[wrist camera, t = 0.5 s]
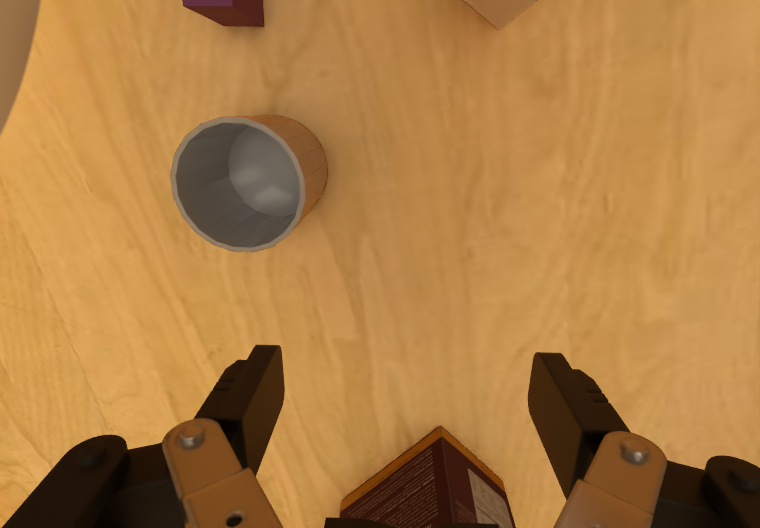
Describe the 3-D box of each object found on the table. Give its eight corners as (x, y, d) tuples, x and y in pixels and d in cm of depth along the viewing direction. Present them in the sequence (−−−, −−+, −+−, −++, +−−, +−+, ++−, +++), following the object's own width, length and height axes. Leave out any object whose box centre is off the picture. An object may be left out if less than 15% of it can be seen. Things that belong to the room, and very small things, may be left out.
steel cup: (222, 114, 37) (162, 115, 27) (326, 116, 36) (302, 118, 27) (231, 216, 40) (180, 250, 30) (328, 219, 39) (307, 254, 30)
